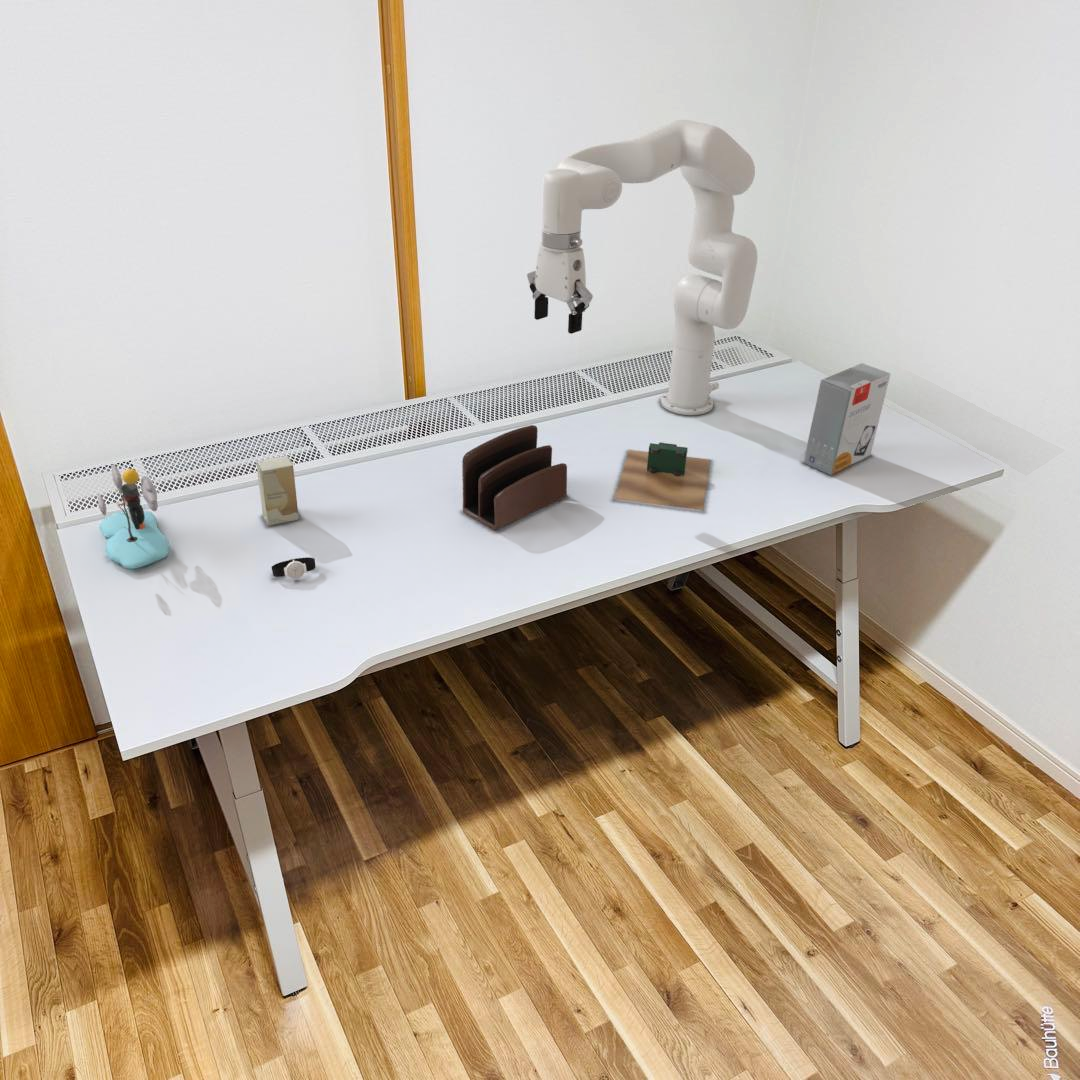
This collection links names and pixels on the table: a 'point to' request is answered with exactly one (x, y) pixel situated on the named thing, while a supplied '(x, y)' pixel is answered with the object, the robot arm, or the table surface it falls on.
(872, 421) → the hard drive box
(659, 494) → the wooden board
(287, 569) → the watch
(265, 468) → the cosmetic box
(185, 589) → the table surface
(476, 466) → the letter holder
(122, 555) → the winged figurine
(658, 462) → the green box with feet
